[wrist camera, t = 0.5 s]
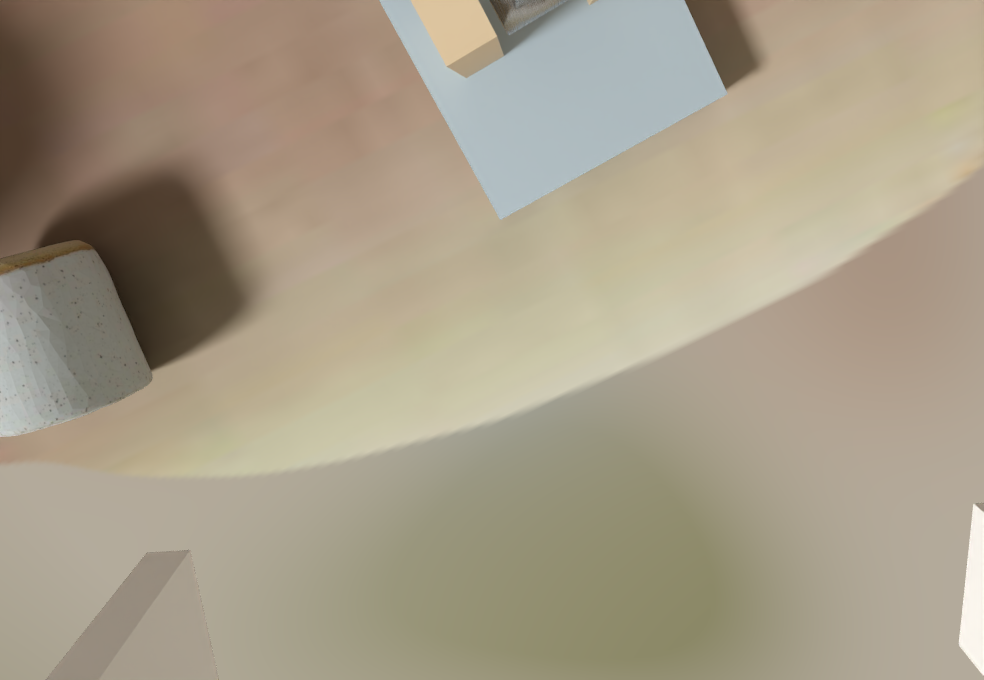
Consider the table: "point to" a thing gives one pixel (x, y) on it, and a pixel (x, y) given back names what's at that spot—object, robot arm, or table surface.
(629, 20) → the base
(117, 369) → the ceramic mug
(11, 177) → the table surface
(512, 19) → the lever
